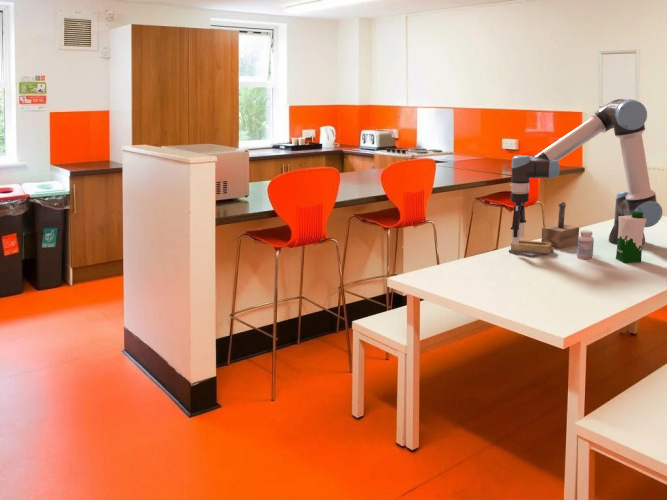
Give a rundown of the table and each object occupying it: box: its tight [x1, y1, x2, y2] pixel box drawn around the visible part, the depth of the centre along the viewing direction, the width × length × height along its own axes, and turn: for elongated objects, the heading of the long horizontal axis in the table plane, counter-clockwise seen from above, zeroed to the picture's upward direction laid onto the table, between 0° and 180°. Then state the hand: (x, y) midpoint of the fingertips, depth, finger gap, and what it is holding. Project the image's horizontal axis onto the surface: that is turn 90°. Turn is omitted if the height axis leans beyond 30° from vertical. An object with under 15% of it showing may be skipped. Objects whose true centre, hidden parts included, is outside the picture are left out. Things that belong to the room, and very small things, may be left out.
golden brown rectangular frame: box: [510, 239, 553, 254], centre depth 288 cm, size 8×16×3 cm, turn 66°
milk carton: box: [615, 211, 647, 264], centre depth 270 cm, size 9×9×20 cm
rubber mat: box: [508, 248, 555, 259], centre depth 289 cm, size 12×15×1 cm
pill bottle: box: [576, 229, 595, 260], centre depth 277 cm, size 6×6×11 cm
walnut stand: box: [540, 201, 580, 250], centre depth 298 cm, size 10×13×20 cm
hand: (517, 240), depth 290 cm, fingers open, 13 cm apart
